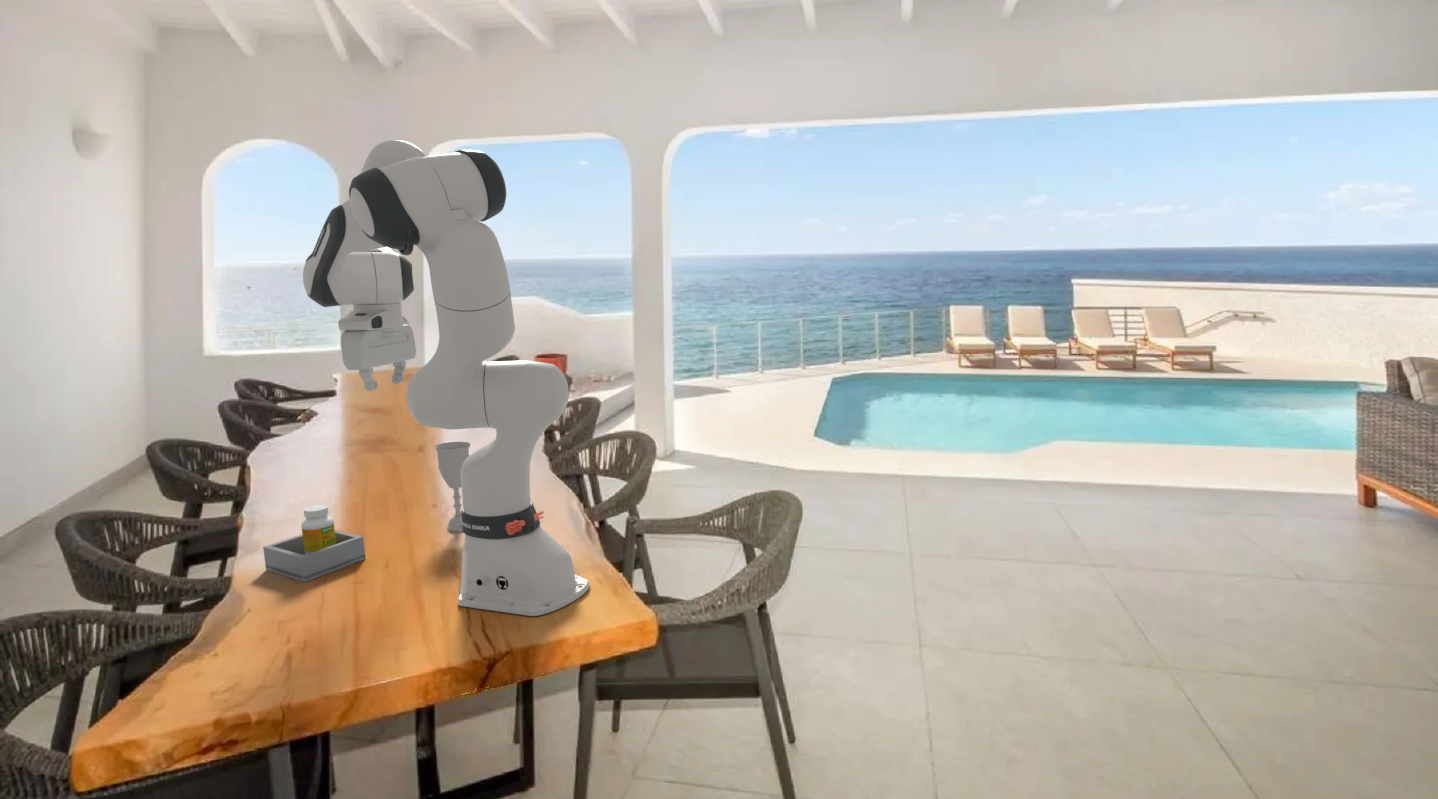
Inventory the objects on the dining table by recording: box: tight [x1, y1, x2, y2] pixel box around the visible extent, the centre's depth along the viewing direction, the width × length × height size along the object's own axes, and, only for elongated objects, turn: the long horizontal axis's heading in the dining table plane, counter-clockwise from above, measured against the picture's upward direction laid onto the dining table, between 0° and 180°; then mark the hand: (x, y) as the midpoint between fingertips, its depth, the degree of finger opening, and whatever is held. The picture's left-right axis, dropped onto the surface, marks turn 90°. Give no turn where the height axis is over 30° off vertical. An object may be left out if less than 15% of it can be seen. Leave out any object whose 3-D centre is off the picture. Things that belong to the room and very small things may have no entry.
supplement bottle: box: [301, 504, 336, 555], centre depth 141 cm, size 5×5×10 cm
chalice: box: [434, 441, 471, 532], centre depth 159 cm, size 7×7×18 cm
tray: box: [262, 529, 366, 583], centre depth 141 cm, size 12×12×4 cm
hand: (385, 386), depth 152 cm, fingers open, 8 cm apart
